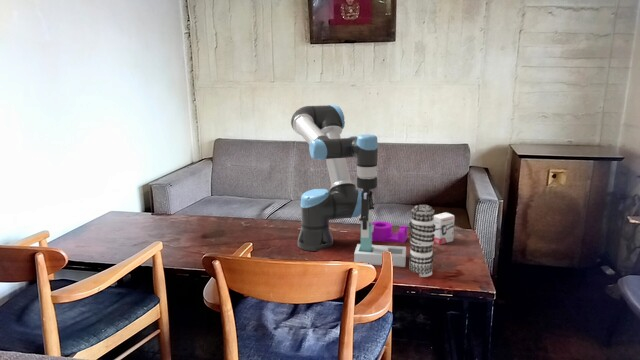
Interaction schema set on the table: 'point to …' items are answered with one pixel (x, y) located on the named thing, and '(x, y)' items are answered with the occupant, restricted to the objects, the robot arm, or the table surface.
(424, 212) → the decorative candle
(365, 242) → the plug
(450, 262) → the table surface
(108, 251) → the table surface
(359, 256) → the white slotted block
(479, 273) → the table surface
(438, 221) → the ink box
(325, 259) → the table surface
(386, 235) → the tape dispenser
